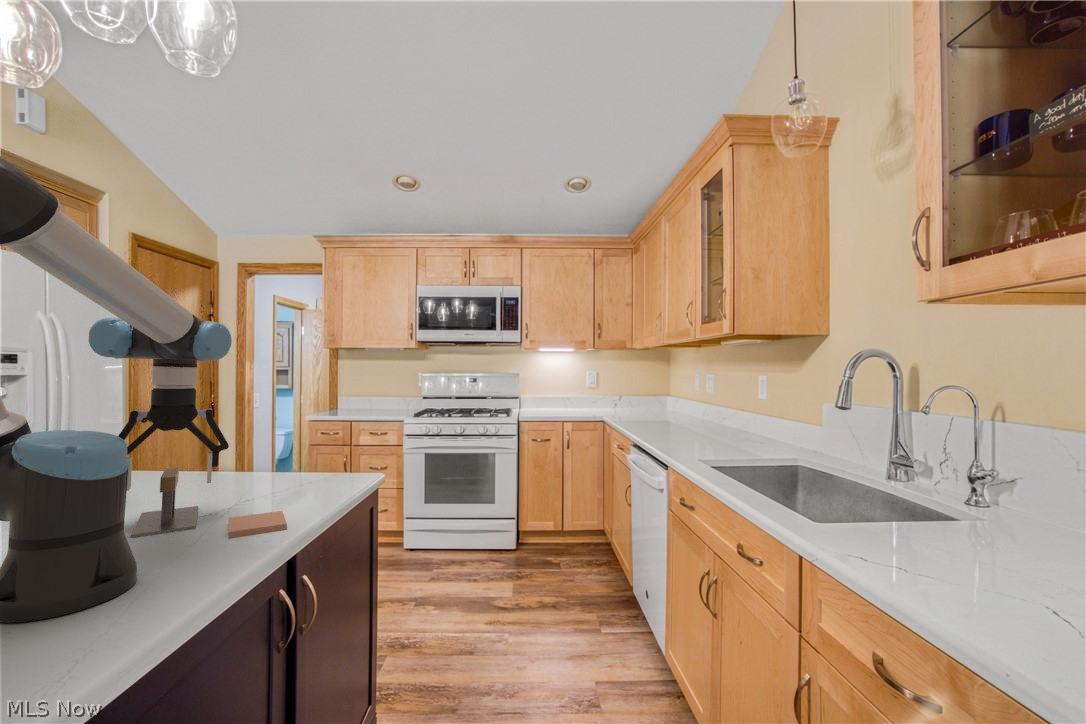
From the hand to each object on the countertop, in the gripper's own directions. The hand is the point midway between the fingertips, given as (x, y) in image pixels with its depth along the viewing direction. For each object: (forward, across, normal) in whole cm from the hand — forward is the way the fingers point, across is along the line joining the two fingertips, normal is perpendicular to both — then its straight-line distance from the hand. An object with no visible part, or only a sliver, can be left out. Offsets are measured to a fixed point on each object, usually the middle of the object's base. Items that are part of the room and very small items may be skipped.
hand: (169, 485), depth 97 cm
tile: (+7, -16, +8) cm, 19 cm away
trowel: (+8, 0, 0) cm, 8 cm away
